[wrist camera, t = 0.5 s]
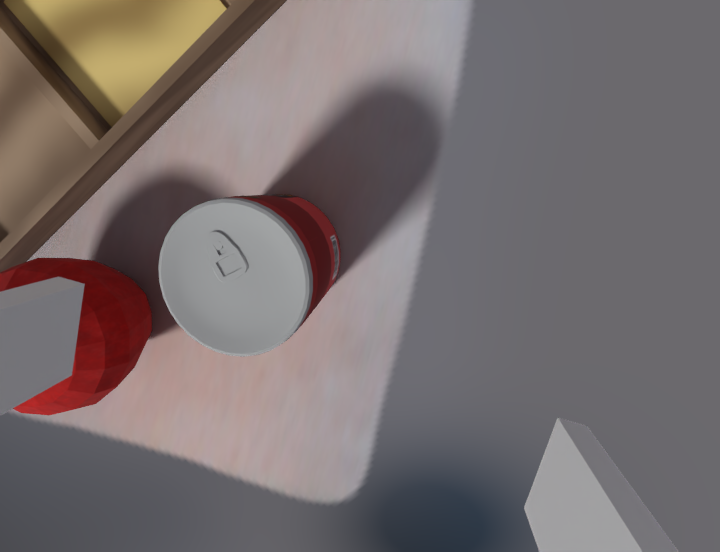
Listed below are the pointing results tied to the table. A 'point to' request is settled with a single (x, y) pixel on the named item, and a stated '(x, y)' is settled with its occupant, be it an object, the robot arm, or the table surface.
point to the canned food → (247, 270)
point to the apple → (90, 330)
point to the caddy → (96, 95)
